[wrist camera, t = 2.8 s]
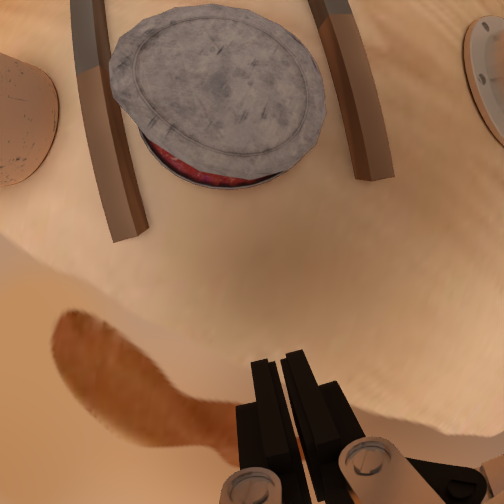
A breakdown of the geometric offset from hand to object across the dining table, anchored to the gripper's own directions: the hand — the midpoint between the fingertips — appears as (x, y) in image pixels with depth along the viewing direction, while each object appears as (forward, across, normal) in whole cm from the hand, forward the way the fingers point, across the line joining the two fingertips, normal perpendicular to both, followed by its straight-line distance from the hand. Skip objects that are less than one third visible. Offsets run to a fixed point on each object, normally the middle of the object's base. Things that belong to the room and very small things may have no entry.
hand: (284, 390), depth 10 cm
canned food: (+11, -1, -11) cm, 16 cm away
